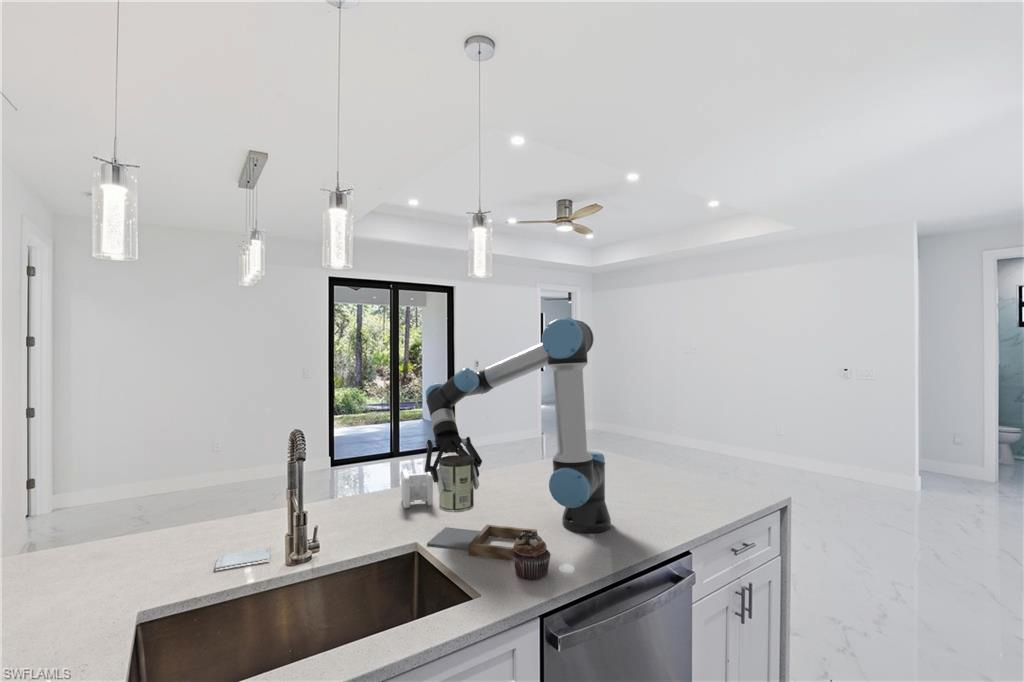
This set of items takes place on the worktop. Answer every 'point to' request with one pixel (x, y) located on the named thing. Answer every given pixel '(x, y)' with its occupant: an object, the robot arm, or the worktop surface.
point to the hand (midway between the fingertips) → (459, 489)
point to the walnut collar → (494, 551)
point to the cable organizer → (416, 487)
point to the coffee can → (457, 483)
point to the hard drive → (242, 558)
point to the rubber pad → (453, 538)
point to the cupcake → (530, 556)
